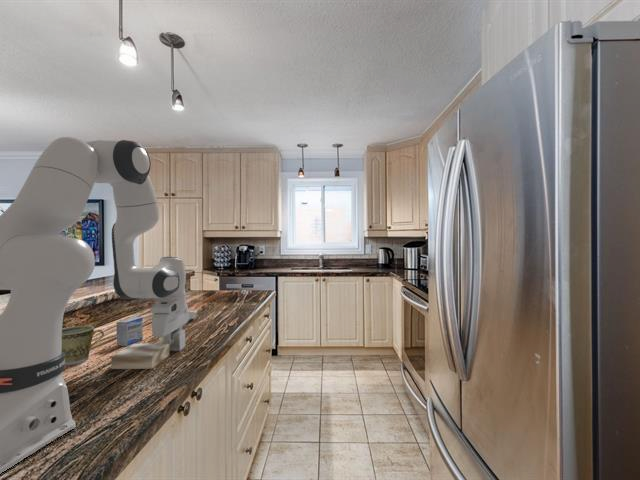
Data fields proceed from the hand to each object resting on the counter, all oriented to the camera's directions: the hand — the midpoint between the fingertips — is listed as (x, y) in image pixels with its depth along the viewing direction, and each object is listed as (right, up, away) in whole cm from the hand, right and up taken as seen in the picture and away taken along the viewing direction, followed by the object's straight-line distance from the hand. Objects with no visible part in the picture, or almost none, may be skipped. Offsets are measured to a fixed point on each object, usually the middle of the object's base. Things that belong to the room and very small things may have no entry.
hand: (172, 342), depth 111 cm
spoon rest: (-12, -3, +35) cm, 37 cm away
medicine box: (-19, -3, +7) cm, 20 cm away
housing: (0, -2, 0) cm, 2 cm away
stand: (-4, -2, -12) cm, 13 cm away
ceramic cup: (-24, -3, -11) cm, 27 cm away
